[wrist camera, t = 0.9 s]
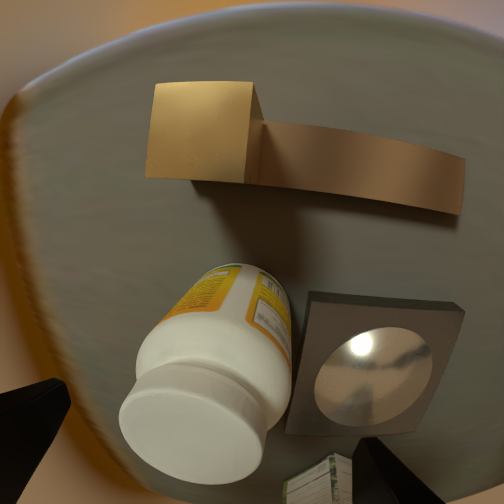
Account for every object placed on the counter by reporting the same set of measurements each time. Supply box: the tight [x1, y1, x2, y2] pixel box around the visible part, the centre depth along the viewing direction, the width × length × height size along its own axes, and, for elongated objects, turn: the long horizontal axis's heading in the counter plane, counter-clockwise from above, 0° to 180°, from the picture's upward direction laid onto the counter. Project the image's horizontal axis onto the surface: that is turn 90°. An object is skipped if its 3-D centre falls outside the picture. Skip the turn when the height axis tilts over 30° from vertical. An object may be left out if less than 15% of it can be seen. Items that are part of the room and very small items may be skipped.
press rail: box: [198, 121, 465, 216], centre depth 13 cm, size 14×3×1 cm, turn 85°
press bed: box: [284, 291, 465, 436], centre depth 15 cm, size 9×9×2 cm
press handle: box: [145, 81, 264, 185], centre depth 10 cm, size 3×3×5 cm
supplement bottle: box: [119, 263, 292, 484], centre depth 11 cm, size 5×5×10 cm
